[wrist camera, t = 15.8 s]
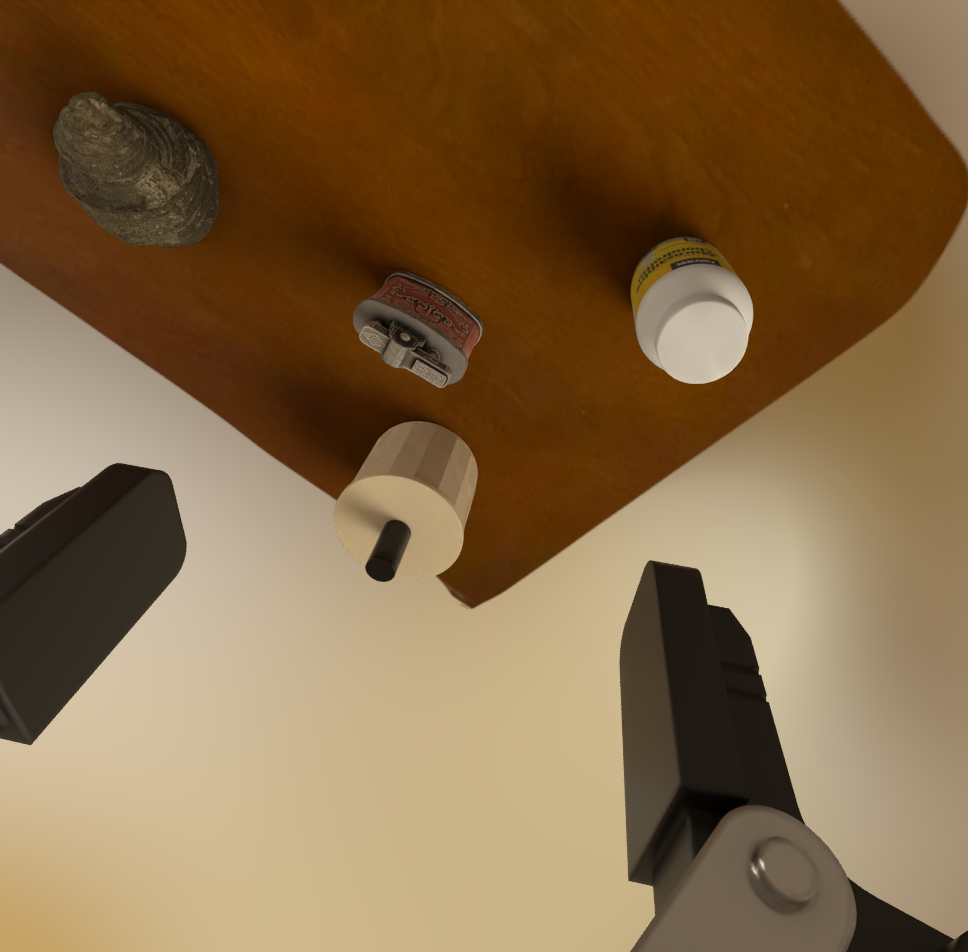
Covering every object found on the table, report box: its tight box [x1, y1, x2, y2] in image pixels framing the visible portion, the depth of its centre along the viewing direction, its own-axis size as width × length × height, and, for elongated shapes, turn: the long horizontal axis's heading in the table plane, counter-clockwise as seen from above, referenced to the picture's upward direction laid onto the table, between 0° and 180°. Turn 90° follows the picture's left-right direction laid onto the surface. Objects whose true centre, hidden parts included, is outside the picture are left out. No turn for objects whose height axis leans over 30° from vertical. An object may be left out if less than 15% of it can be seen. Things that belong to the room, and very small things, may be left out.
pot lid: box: [334, 472, 464, 582], centre depth 44 cm, size 10×10×6 cm
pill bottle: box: [630, 237, 753, 384], centre depth 36 cm, size 6×6×12 cm
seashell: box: [53, 91, 220, 304], centre depth 38 cm, size 11×12×10 cm
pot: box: [353, 421, 478, 531], centre depth 49 cm, size 10×10×8 cm
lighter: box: [353, 270, 483, 388], centre depth 40 cm, size 8×3×10 cm, turn 60°
